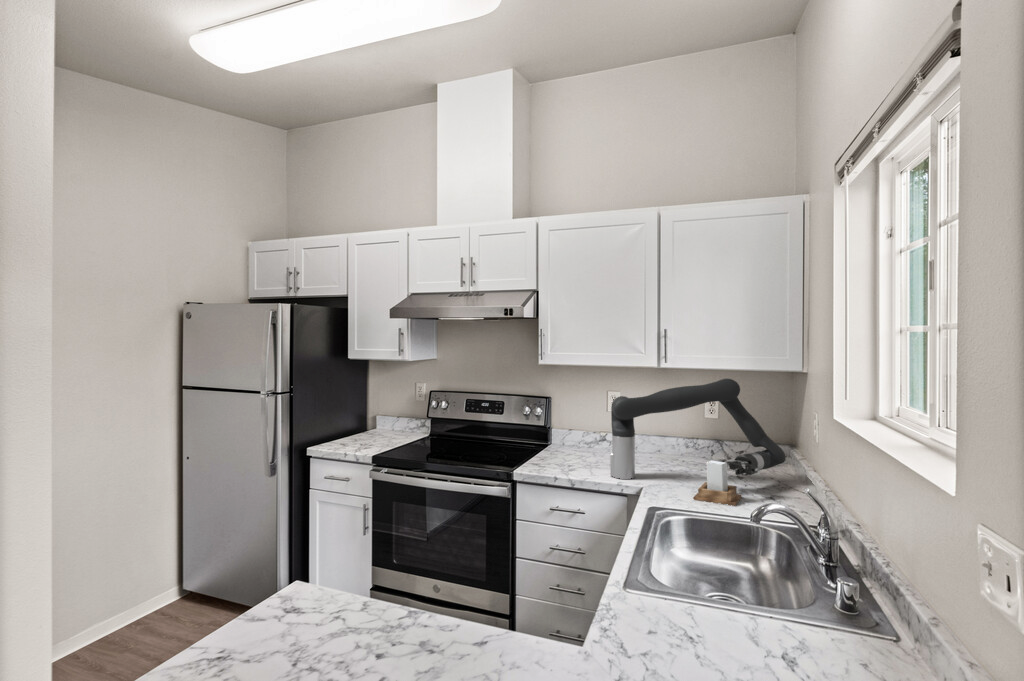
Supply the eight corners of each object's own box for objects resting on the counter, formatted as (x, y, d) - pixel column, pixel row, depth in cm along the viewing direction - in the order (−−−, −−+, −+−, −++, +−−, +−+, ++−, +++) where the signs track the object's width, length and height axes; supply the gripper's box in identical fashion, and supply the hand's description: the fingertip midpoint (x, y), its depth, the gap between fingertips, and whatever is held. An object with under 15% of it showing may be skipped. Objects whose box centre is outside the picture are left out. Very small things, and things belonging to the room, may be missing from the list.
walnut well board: (693, 499, 197) (693, 488, 197) (701, 491, 207) (701, 481, 207) (735, 506, 189) (735, 494, 189) (741, 497, 199) (741, 486, 199)
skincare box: (728, 496, 198) (728, 462, 198) (722, 498, 195) (722, 464, 195) (711, 492, 202) (711, 459, 202) (706, 495, 199) (706, 461, 199)
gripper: (731, 450, 216) (708, 456, 207) (767, 456, 205) (743, 463, 195) (732, 469, 216) (708, 476, 207) (767, 476, 205) (744, 484, 195)
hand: (725, 469), depth 201 cm, fingers open, 8 cm apart
